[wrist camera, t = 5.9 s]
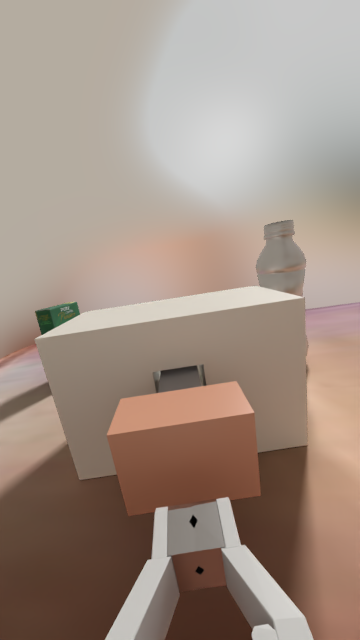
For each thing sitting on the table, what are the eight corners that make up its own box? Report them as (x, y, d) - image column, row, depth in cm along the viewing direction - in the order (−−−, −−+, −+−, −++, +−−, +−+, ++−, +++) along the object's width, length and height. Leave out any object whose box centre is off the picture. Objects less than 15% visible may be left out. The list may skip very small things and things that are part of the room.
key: (261, 495, 12) (254, 412, 11) (128, 516, 12) (106, 435, 11) (220, 391, 22) (214, 342, 20) (147, 403, 22) (137, 354, 20)
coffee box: (81, 365, 46) (63, 301, 43) (94, 364, 46) (77, 299, 42) (55, 386, 38) (31, 311, 35) (70, 385, 38) (48, 308, 35)
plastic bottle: (274, 374, 32) (266, 221, 27) (255, 355, 38) (245, 230, 34) (319, 366, 32) (318, 214, 27) (292, 349, 39) (288, 224, 34)
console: (307, 444, 20) (304, 297, 17) (79, 480, 20) (34, 339, 17) (262, 385, 29) (255, 285, 26) (109, 409, 29) (85, 311, 26)
